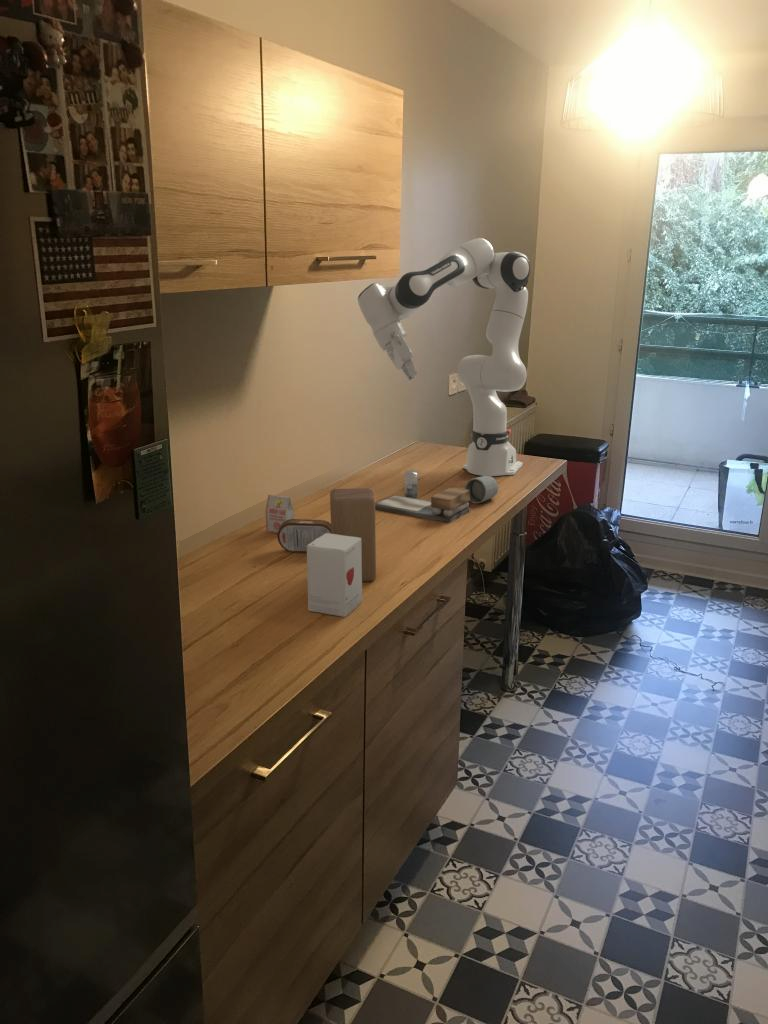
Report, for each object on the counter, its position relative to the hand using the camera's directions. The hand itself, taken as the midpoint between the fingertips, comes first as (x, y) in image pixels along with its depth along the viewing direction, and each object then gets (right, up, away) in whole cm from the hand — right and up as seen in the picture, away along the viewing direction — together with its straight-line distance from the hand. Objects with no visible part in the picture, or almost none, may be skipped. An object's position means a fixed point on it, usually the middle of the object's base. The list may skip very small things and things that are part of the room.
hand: (413, 377), depth 250 cm
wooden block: (-16, -55, -54) cm, 79 cm away
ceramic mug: (+20, -37, +4) cm, 42 cm away
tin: (-28, -51, -38) cm, 69 cm away
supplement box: (-19, -61, -71) cm, 95 cm away
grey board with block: (+2, -40, -6) cm, 40 cm away
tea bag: (-37, -46, -23) cm, 63 cm away
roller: (0, -36, +7) cm, 36 cm away
